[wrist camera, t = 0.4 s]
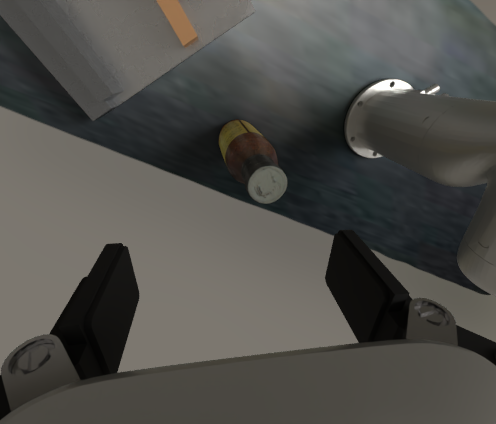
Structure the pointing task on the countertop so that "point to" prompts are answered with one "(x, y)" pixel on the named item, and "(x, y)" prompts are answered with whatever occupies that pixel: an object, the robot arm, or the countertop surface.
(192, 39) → the sliding jaw
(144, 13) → the vise base
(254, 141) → the sauce bottle
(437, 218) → the countertop surface
